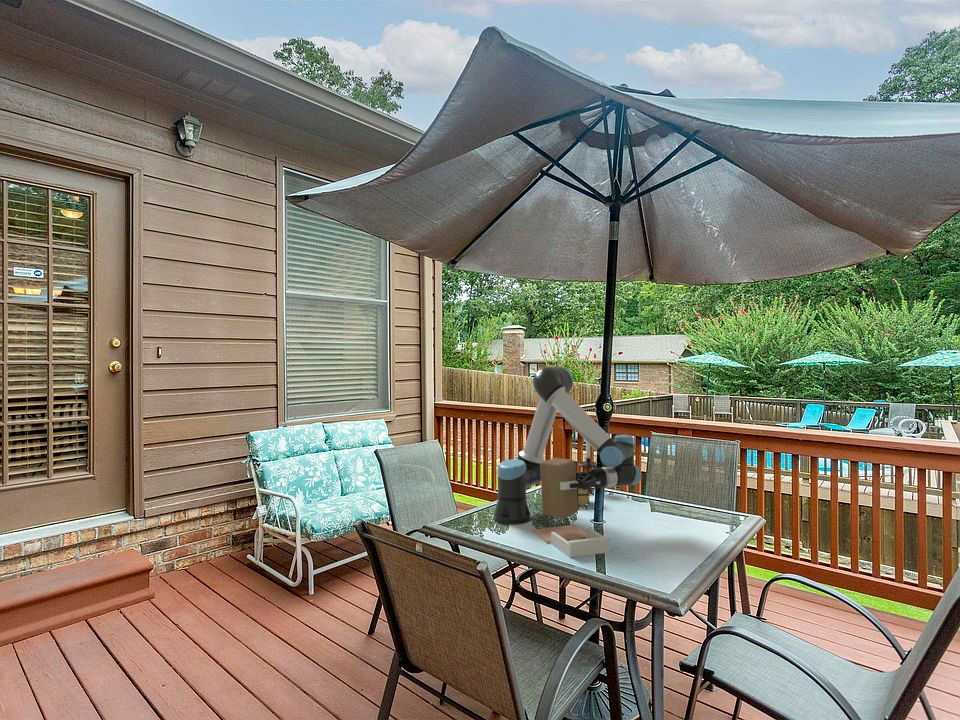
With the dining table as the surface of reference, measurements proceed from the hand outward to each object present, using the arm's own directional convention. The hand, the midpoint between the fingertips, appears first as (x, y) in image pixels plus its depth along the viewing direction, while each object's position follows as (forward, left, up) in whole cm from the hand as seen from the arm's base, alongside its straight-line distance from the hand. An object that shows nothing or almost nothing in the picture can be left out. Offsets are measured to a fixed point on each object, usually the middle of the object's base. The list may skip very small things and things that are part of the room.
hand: (552, 482), depth 197 cm
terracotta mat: (+3, 0, -20) cm, 20 cm away
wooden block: (+3, 0, -12) cm, 13 cm away
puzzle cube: (+29, +37, -20) cm, 51 cm away
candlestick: (+44, +51, -20) cm, 71 cm away
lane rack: (+3, -14, -20) cm, 25 cm away
